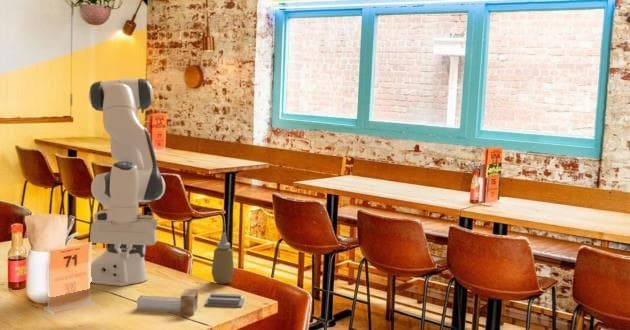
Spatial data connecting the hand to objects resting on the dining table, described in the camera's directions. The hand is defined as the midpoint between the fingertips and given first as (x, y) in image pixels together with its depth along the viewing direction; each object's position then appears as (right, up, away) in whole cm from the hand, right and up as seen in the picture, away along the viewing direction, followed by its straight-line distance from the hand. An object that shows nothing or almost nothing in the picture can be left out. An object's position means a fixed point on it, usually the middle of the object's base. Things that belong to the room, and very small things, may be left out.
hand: (123, 257), depth 233 cm
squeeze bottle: (+26, -14, +37) cm, 47 cm away
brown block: (+20, -17, +2) cm, 27 cm away
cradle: (+30, -16, +12) cm, 36 cm away
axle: (+13, -17, +2) cm, 22 cm away
